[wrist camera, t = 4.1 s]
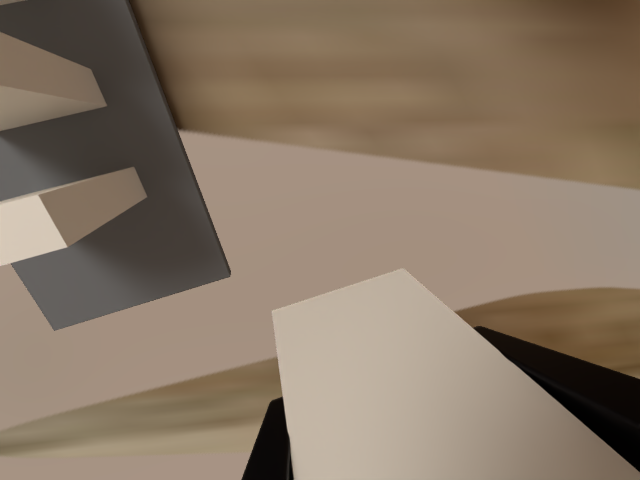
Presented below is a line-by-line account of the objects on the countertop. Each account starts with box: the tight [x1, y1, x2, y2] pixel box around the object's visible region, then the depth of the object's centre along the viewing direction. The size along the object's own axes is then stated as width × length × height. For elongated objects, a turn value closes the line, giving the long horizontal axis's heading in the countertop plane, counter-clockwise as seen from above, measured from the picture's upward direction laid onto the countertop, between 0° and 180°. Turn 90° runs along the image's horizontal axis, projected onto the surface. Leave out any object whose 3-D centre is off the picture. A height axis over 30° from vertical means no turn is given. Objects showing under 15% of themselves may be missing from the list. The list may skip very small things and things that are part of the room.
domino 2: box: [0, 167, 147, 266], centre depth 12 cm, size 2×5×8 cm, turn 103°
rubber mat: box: [0, 0, 231, 331], centre depth 14 cm, size 10×26×1 cm, turn 14°
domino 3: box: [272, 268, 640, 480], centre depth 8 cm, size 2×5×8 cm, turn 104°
